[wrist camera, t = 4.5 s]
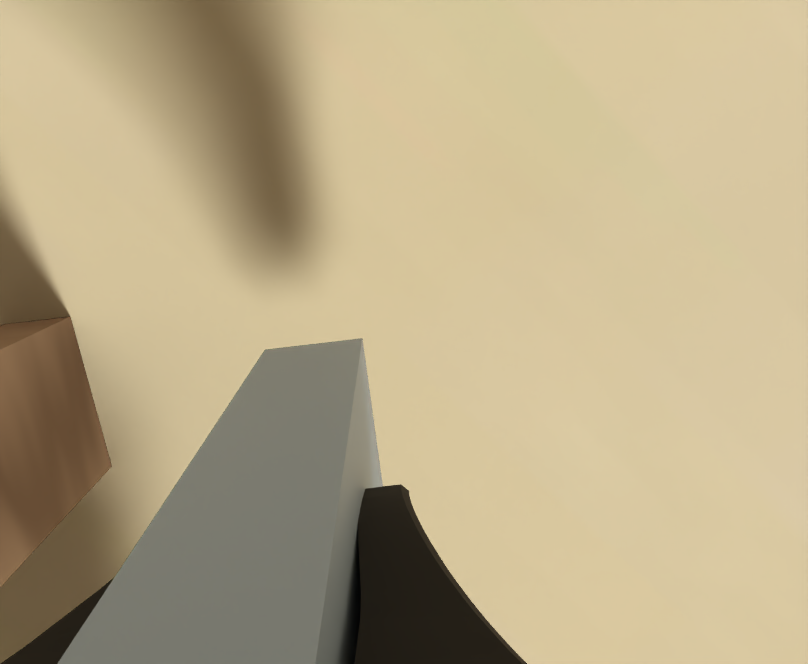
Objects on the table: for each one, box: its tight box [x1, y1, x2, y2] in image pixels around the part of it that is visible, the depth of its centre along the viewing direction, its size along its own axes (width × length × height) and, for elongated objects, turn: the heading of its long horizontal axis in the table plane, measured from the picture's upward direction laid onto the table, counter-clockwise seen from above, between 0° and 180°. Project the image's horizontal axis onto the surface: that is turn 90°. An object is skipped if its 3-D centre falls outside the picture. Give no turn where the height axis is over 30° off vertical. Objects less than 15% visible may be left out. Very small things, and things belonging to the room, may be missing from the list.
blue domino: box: [58, 339, 383, 664], centre depth 8 cm, size 5×2×9 cm, turn 6°
